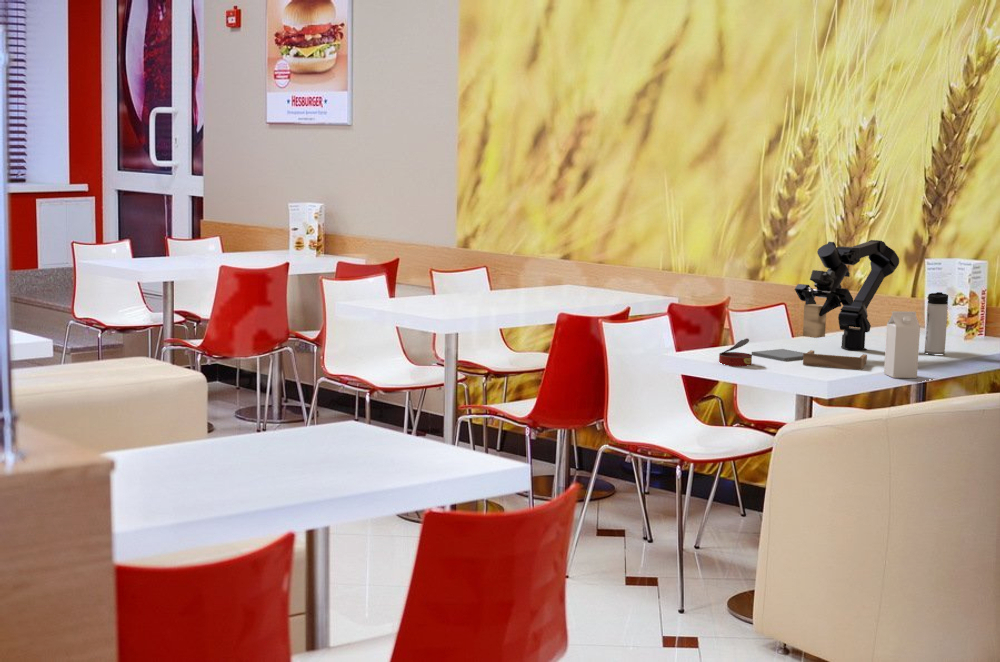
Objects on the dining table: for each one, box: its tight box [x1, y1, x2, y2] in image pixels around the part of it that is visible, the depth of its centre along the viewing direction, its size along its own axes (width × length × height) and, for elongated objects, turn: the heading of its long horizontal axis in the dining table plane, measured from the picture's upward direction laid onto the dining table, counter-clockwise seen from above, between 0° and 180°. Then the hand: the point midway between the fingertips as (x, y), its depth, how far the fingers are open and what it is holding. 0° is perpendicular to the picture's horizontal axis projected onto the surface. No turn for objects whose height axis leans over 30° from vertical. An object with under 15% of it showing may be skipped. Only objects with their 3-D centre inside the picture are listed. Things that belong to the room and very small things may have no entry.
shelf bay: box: [802, 349, 868, 370], centre depth 393 cm, size 12×17×4 cm
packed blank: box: [802, 303, 827, 339], centre depth 407 cm, size 5×5×10 cm
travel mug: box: [924, 291, 949, 355], centre depth 417 cm, size 6×7×20 cm
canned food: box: [718, 337, 753, 367], centre depth 391 cm, size 11×10×10 cm
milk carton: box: [883, 310, 921, 379], centre depth 372 cm, size 7×7×19 cm
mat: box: [751, 348, 805, 362], centre depth 407 cm, size 14×14×1 cm
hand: (812, 314), depth 406 cm, fingers closed on packed blank, 5 cm apart
